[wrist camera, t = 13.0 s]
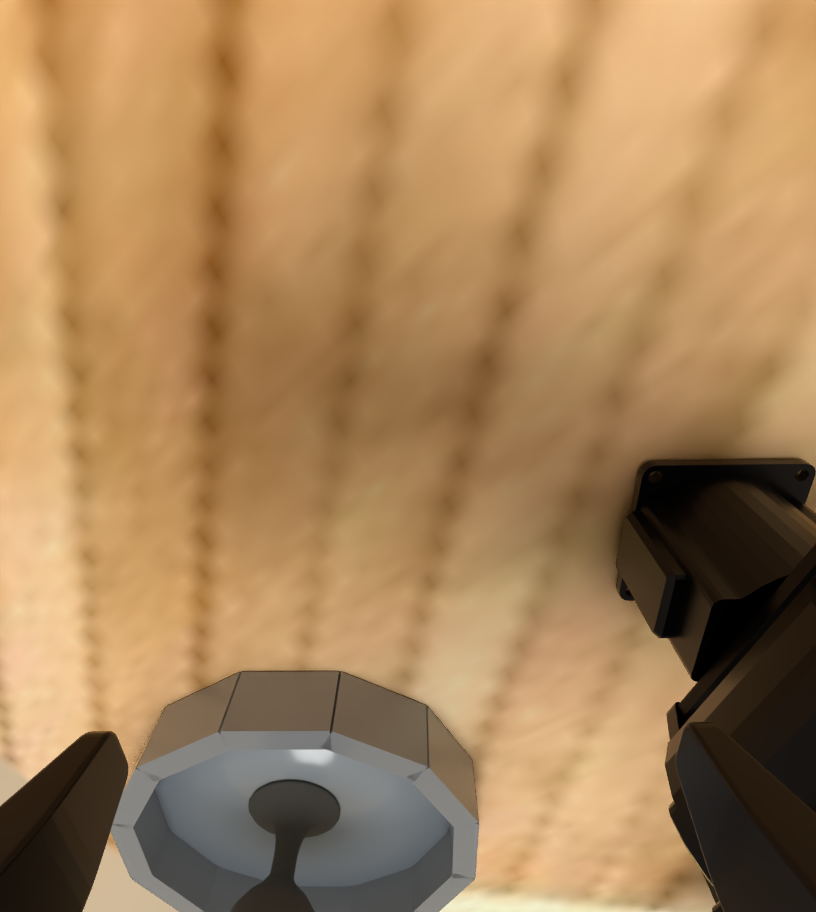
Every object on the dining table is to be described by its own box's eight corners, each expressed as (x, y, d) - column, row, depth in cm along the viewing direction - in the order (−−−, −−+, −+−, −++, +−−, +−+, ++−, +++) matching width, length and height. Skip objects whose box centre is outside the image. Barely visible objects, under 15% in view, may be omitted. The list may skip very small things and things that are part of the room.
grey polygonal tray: (477, 670, 26) (485, 730, 23) (465, 878, 34) (470, 942, 31) (105, 672, 26) (66, 731, 23) (180, 878, 34) (158, 942, 31)
